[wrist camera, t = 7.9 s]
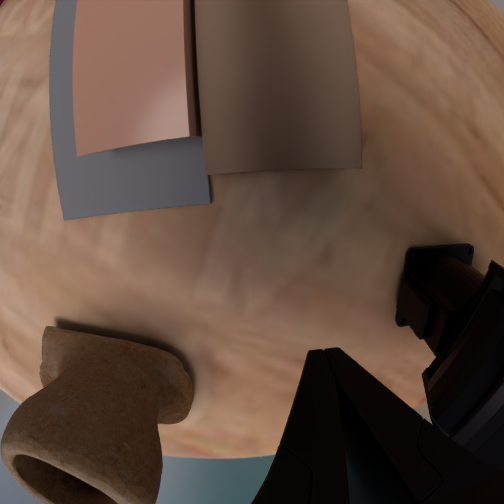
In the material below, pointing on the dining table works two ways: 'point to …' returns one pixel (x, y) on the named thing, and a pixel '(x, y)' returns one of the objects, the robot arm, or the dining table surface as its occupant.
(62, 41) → the mat
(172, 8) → the salmon pink block
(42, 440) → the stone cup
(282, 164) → the ledge
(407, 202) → the dining table surface
